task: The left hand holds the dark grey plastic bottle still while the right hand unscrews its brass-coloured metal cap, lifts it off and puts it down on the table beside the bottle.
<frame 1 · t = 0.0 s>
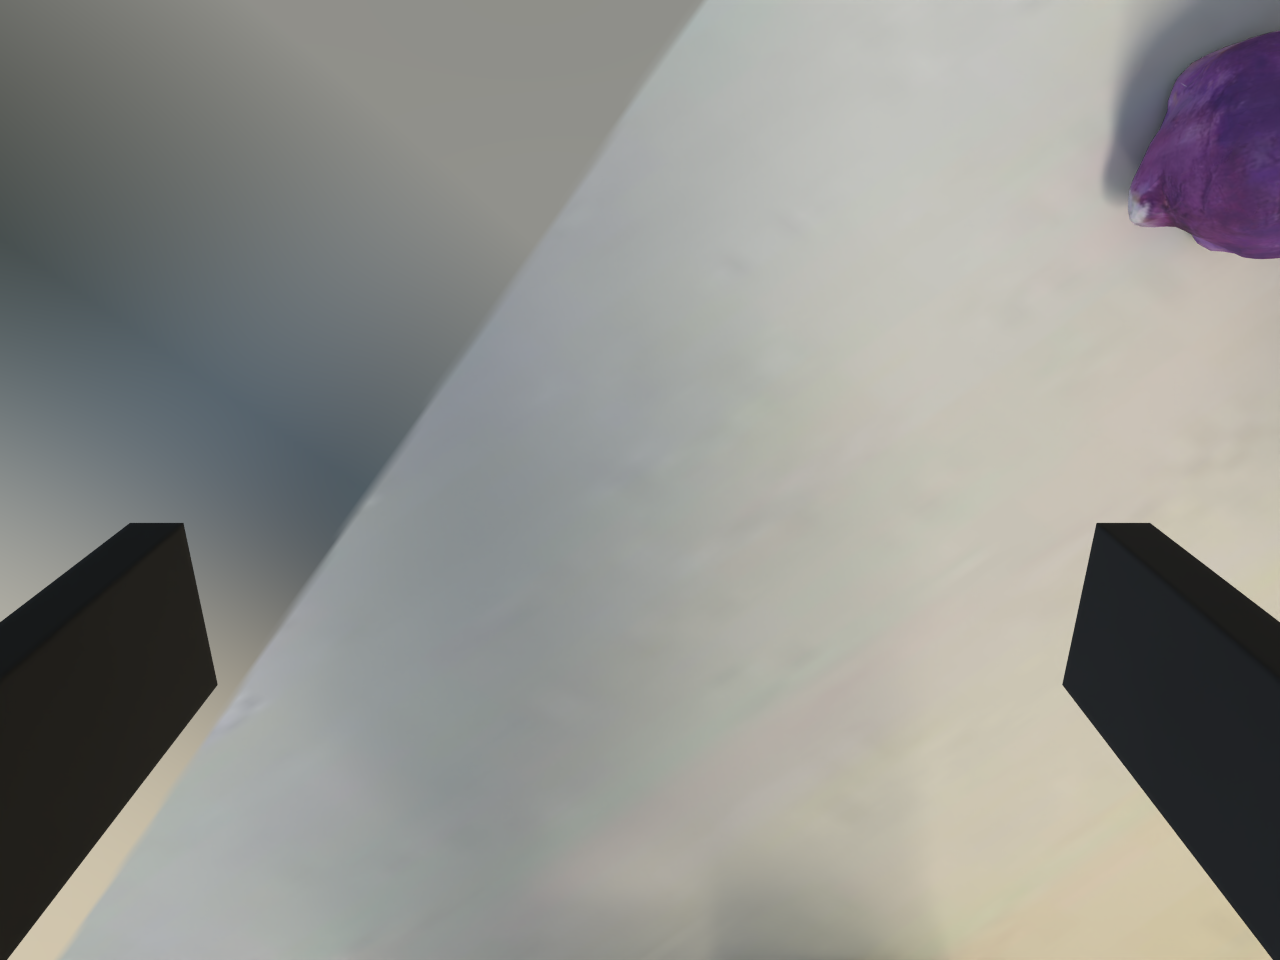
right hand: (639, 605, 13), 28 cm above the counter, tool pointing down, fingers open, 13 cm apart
figurine: (1248, 123, 36), on the counter
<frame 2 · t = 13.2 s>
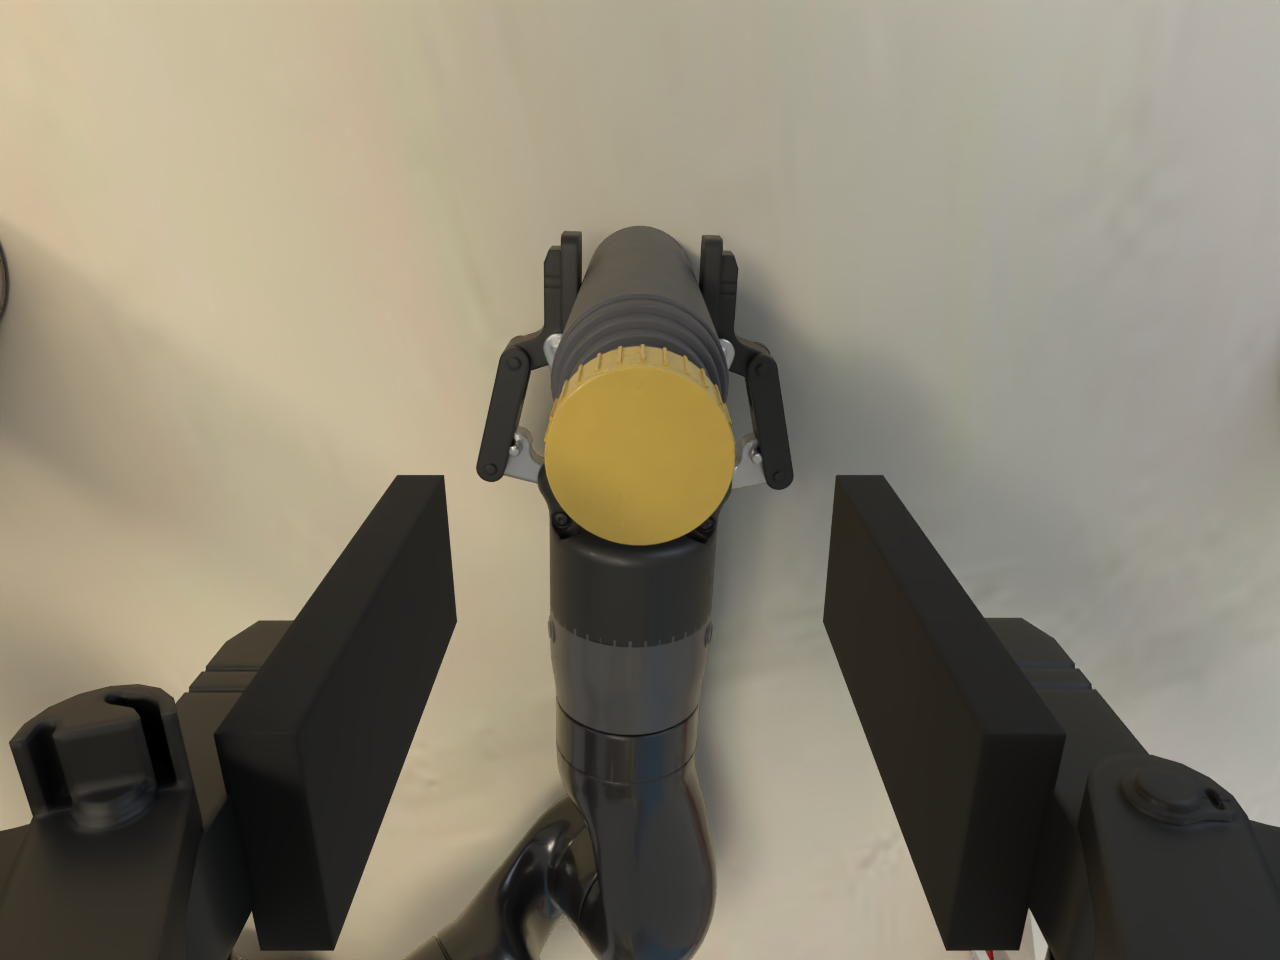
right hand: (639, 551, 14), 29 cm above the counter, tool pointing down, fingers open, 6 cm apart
left hand: (642, 237, 35), fingers closed on bottle, 5 cm apart
bottle: (639, 280, 41), on the counter, touching left hand
cap: (639, 455, 19), point 24 cm above the counter, screwed on, not yet turned
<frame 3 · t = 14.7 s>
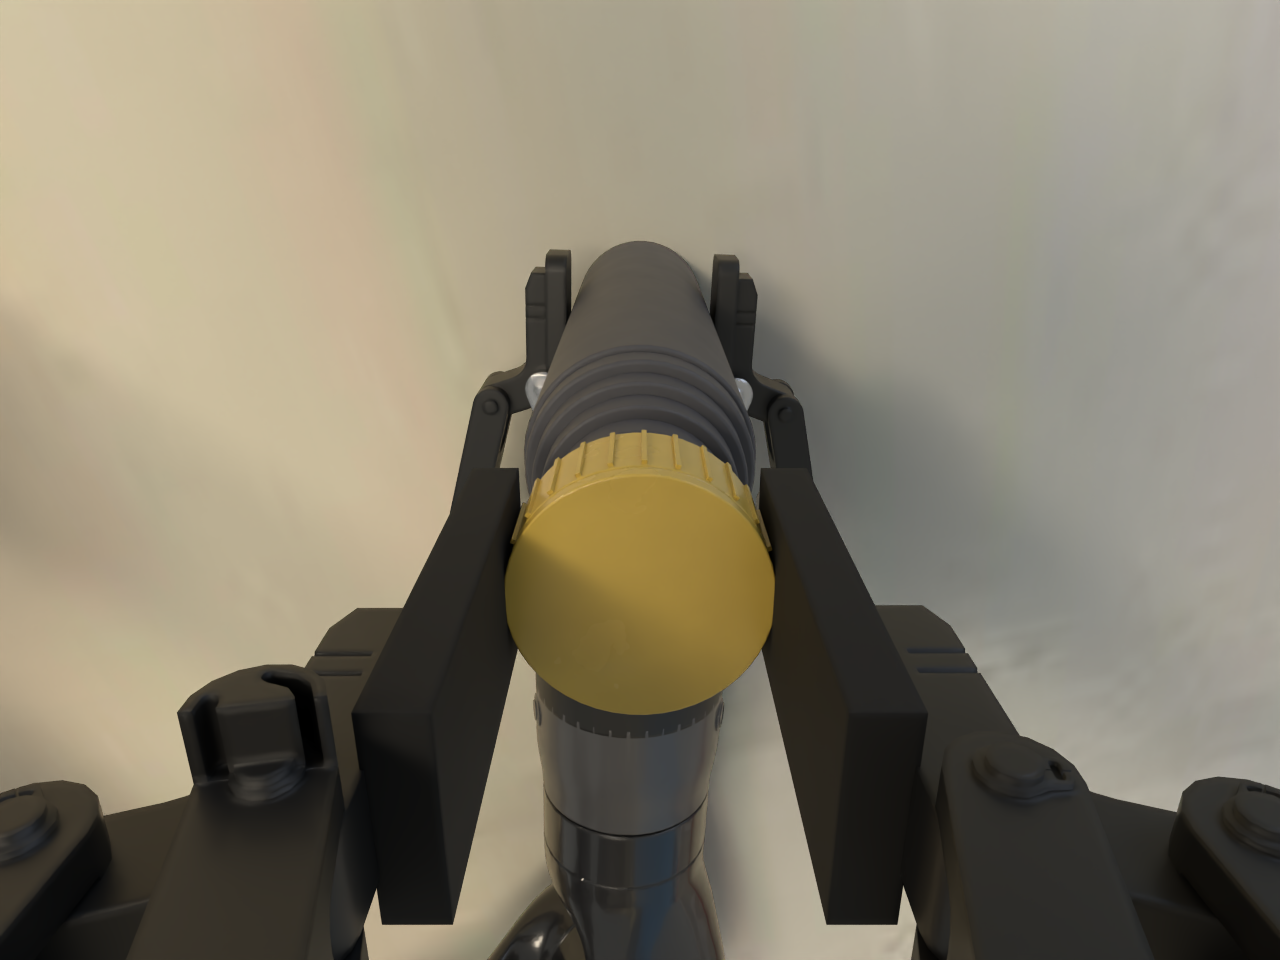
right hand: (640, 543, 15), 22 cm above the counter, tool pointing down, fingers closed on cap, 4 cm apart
left hand: (643, 257, 29), fingers closed on bottle, 5 cm apart
bottle: (640, 303, 36), on the counter, touching left hand
cap: (639, 592, 13), point 24 cm above the counter, screwed on, not yet turned, touching right hand
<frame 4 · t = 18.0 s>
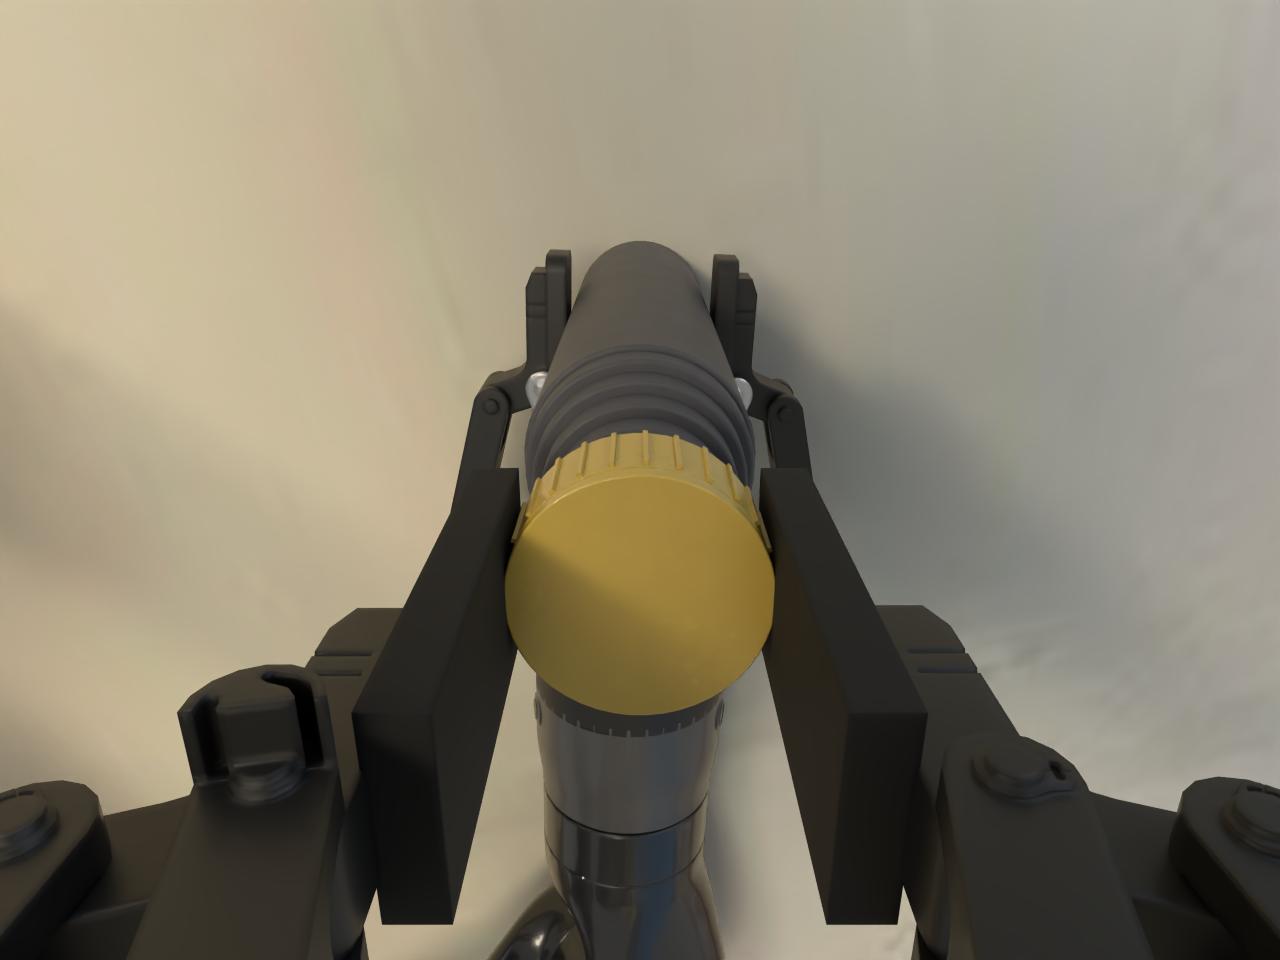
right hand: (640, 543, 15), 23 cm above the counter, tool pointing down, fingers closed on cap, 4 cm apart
left hand: (643, 257, 29), fingers closed on bottle, 5 cm apart
bottle: (640, 303, 36), on the counter, touching left hand
cap: (639, 592, 13), point 24 cm above the counter, turned 82° so far, risen 0.1 cm, still on its thread, touching right hand
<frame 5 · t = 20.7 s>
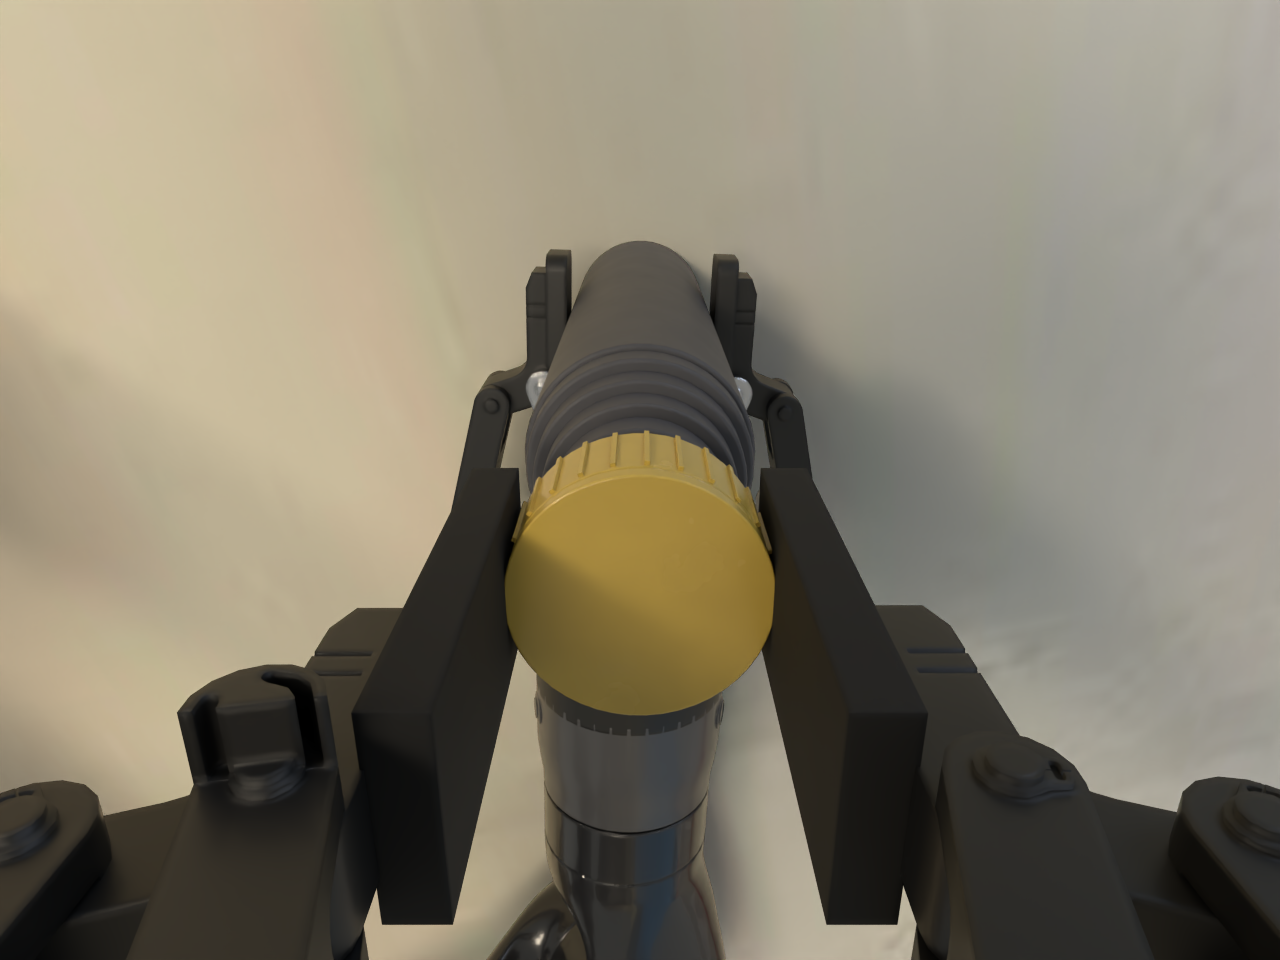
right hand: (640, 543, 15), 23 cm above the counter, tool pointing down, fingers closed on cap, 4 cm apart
bottle: (640, 302, 36), on the counter, touching left hand
cap: (639, 592, 13), point 24 cm above the counter, turned 165° so far, risen 0.2 cm, still on its thread, touching right hand
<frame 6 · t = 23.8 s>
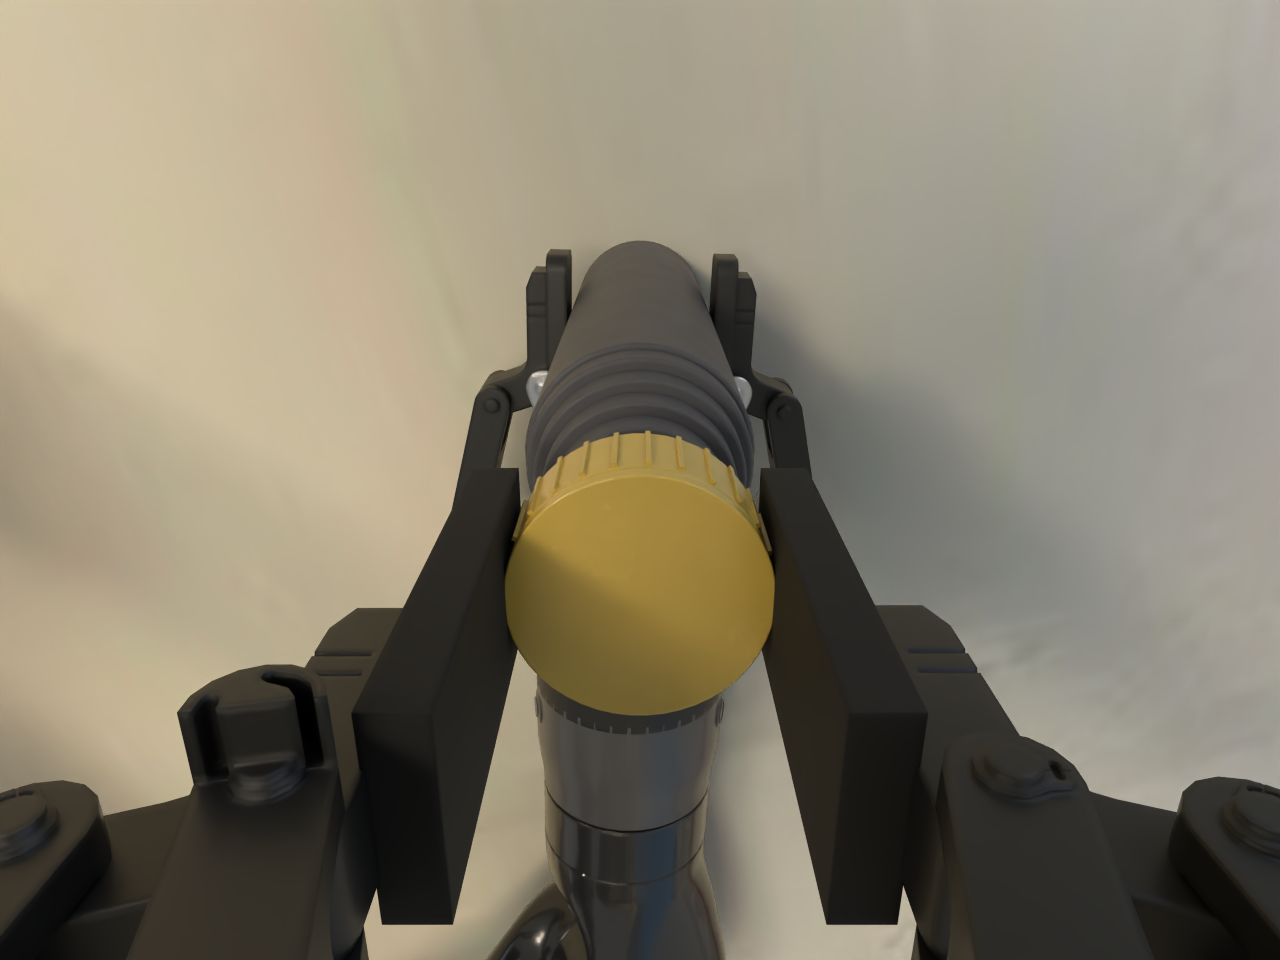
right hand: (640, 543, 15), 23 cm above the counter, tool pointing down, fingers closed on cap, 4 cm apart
bottle: (640, 302, 36), on the counter, touching left hand
cap: (639, 592, 13), point 24 cm above the counter, turned 247° so far, risen 0.2 cm, still on its thread, touching right hand
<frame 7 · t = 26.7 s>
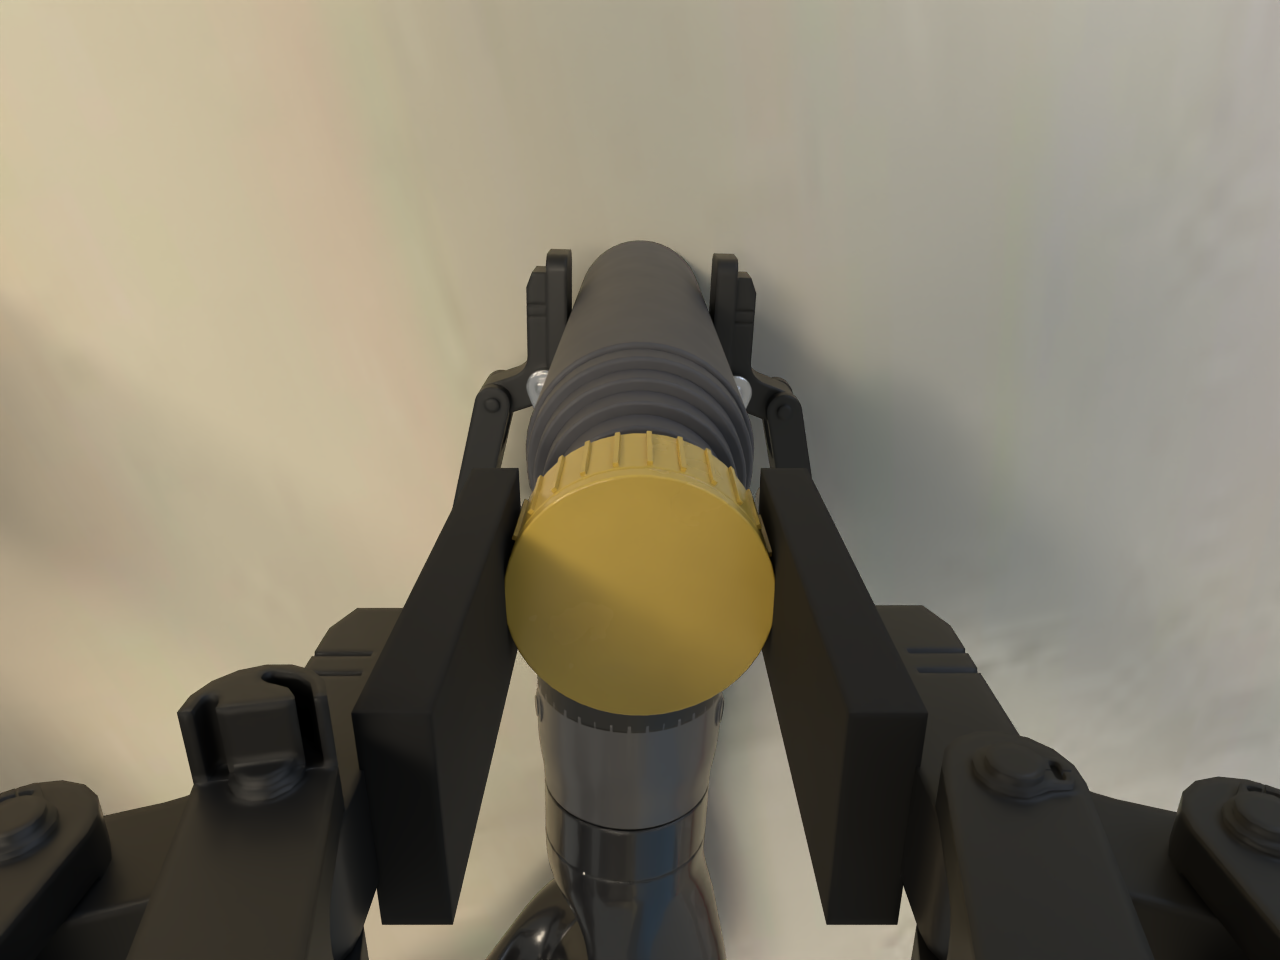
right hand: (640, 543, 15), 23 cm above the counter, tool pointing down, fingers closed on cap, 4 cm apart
bottle: (640, 302, 36), on the counter, touching left hand
cap: (639, 592, 13), point 24 cm above the counter, turned 330° so far, risen 0.3 cm, still on its thread, touching right hand
when the right hand's fingers open (1 cm above the counter, at t = 36.5 s): cap stays where it is, point 2 cm above the counter.
when the left hand's fingers open (6 cm above the counter, at t = 37.9 s): bottle stays where it is, on the counter.
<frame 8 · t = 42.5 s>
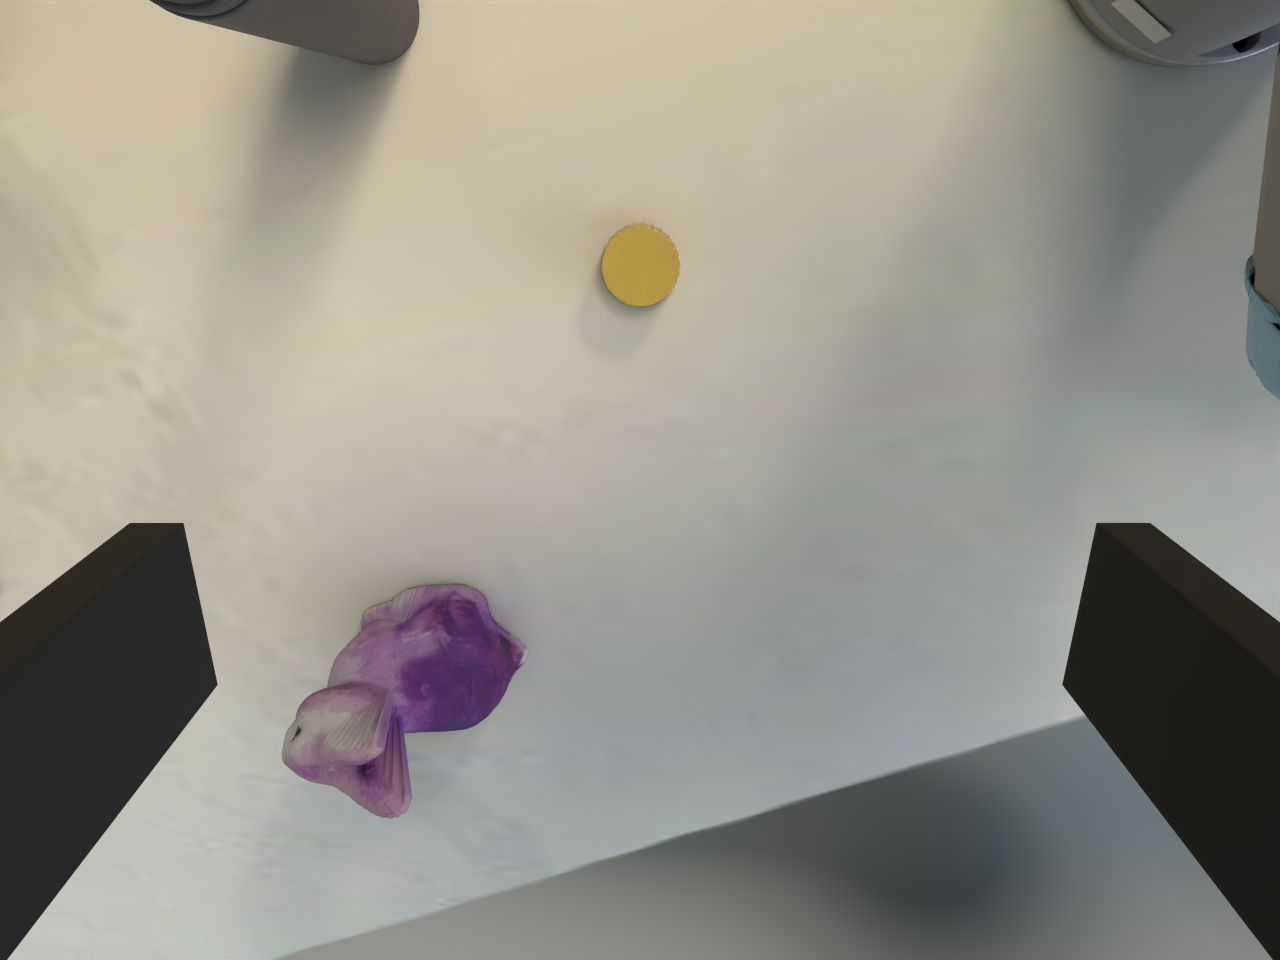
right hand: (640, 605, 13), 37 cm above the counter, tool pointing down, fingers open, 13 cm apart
bottle: (369, 8, 43), on the counter
figurine: (433, 638, 56), on the counter
cap: (640, 266, 46), point 2 cm above the counter, off its thread
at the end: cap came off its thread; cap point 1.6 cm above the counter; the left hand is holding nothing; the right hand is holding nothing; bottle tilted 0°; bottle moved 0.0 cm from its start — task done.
